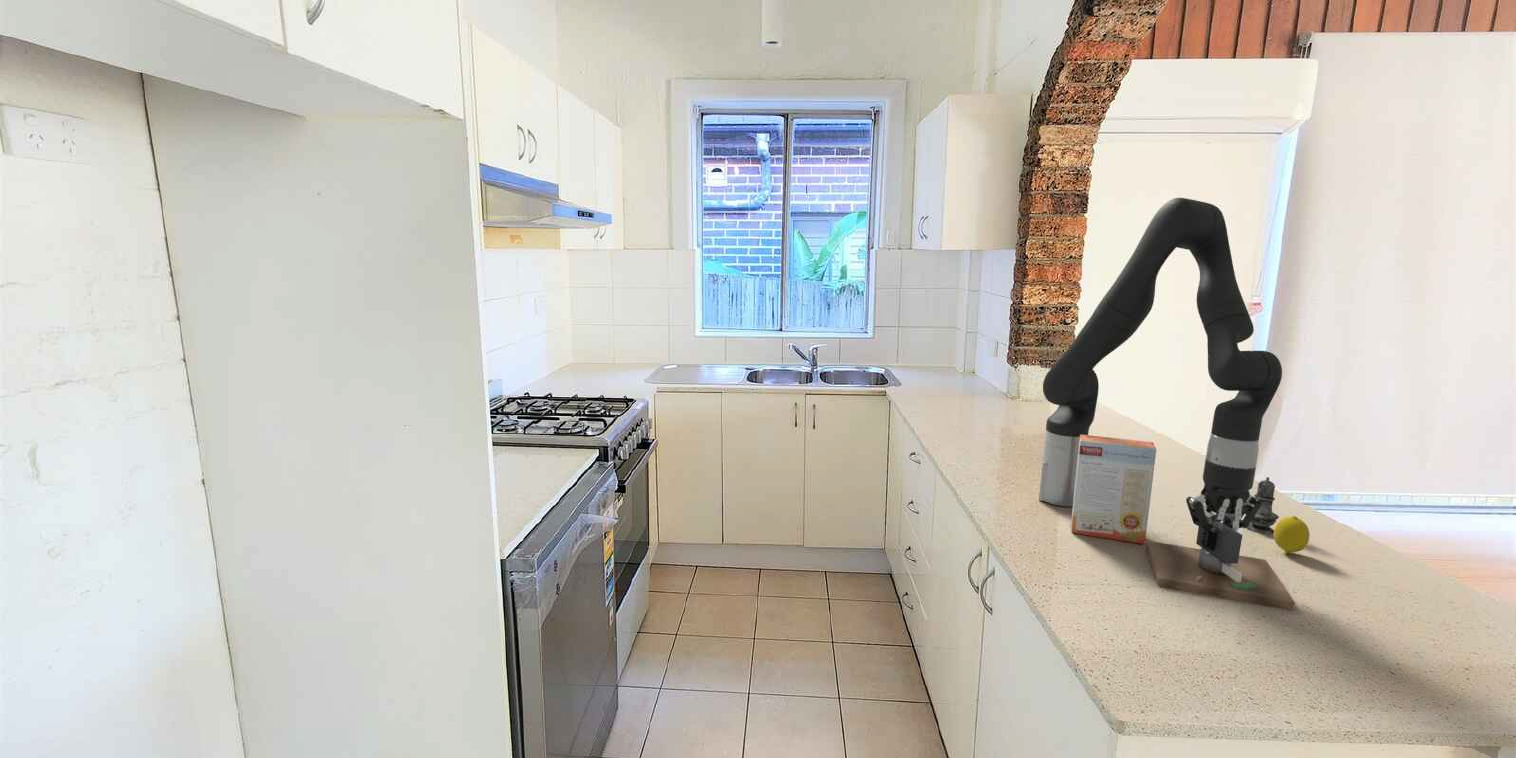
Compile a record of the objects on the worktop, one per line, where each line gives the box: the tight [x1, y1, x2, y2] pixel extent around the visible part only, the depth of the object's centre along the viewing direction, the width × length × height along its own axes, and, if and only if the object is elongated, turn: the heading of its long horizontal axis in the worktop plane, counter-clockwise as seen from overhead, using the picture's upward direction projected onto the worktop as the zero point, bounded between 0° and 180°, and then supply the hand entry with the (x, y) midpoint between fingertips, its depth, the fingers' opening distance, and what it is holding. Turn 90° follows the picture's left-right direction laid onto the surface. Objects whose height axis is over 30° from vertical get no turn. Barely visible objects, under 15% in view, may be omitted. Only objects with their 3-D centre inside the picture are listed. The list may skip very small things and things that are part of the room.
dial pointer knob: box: [1195, 519, 1243, 582], centre depth 121 cm, size 10×5×8 cm, turn 179°
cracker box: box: [1070, 434, 1157, 545], centre depth 140 cm, size 14×6×21 cm, turn 65°
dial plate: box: [1145, 540, 1295, 611], centre depth 124 cm, size 20×17×2 cm
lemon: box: [1273, 515, 1310, 555], centre depth 132 cm, size 6×6×8 cm
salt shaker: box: [1246, 476, 1279, 535], centre depth 144 cm, size 6×6×12 cm
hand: (1216, 548), depth 123 cm, fingers closed on dial pointer knob, 2 cm apart
